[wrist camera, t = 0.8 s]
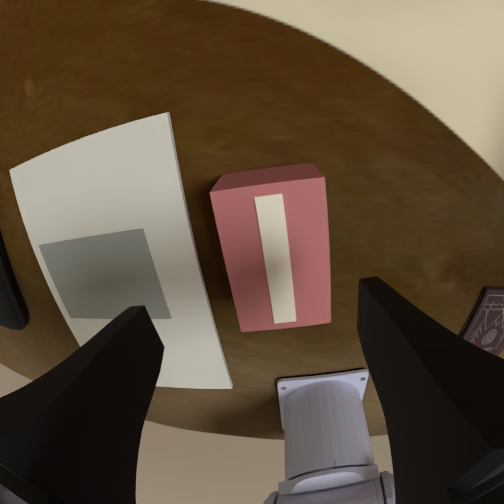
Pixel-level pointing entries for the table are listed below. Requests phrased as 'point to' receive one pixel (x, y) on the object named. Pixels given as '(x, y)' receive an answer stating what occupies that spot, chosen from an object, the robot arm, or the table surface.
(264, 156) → the table surface
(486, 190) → the table surface
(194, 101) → the table surface
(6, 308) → the carrying case or bag
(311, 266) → the box
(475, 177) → the table surface
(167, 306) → the mat
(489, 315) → the chocolate bar
